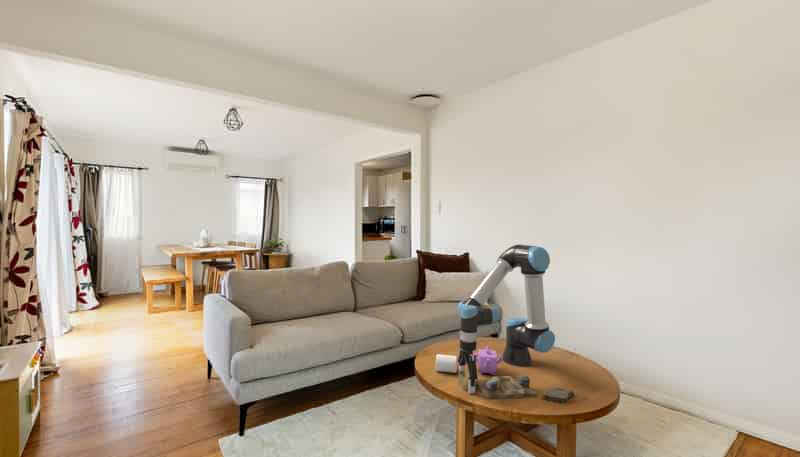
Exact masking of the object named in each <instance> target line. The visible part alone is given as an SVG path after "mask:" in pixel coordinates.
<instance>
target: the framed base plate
mask: <svg viewBox="0 0 800 457" xmlns="http://www.w3.org/2000/svg"><path fill="white" fill-rule="evenodd" d="M494 378H498V379H500V384H499V385H497V391H494V392H491V391H489V390H487V389H486V381H488V380H489V379H482V380H480V379H479V380H478V379H476V380H475V386H476V387H477V388H478V389H479V390H480V392H481V393H482V394H483V396H484V397H485V399H488V400H491V399H493V400H495V399H510V398H511V399H513V398H528V397H530V398H532V397H538V393H537V392H536V391H535V390H534V389H533V388H532V387H531V386H530V387H529V388H523V387H522V386H521V385H520V384H519V383H518V382H517V378H513V377H512V376H510V375H508V376H506V375H505V376H504V375H503V376H491V379H494Z"/></svg>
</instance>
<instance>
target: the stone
mask: <svg viewBox="0 0 800 457" xmlns="http://www.w3.org/2000/svg"><path fill="white" fill-rule="evenodd" d="M573 397H574V398H575V393H574V392H573V390H570V389H565V388H559V387H556V386H554V387H552V388H551V389H549V390H547V391H545V392H544V393H542V400H543V401H544V400H546V401H545V402H550V401H552V402H551V403H556V402H558V403H557V404H562V403H565V404H567V403H568V402H570V401H571V400H573V399H574V398H573ZM572 398H573V399H572ZM570 399H571V400H570ZM569 400H570V401H569ZM567 401H568V402H567Z"/></svg>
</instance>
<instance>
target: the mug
mask: <svg viewBox="0 0 800 457" xmlns="http://www.w3.org/2000/svg"><path fill="white" fill-rule="evenodd" d="M457 364H458V356H456V355H449V354H448V355H447V354H439V353H437V354H436V359H435V371H436V372H443V373H450V374H451V373H452V374H456V373H457V368H458V366H457Z"/></svg>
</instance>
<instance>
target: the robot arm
mask: <svg viewBox="0 0 800 457" xmlns="http://www.w3.org/2000/svg"><path fill="white" fill-rule="evenodd" d="M550 264H551V258H550V255H549V253H548V251H547V250H546V249H545V248H544V247H542V246H537V245H528V244H527V245H526V244H514V245H513V246H510V247H509V248H507V249H506V250H504V251H503V252H502V253H501V254H500V256H499V257H498V258H497V259H496V264H495V265H494V266H493V267H492V268H491V269H490V271H489V272H488V273H487V274H486V276H485V277H484V278H483V280H482V281H481V282H480V283H479V284H478V286H477V287H476V288H475V289H474V291H473V292H472V294H470V296H469V297H468V298H467V299H466V300H461V301H460V302H459V303H458V304H457V312H458V314H459V316H460V323H459V324H460V327H459V328H460V330H459V333H458V334H459V338H460V340H459V348H460V349H459V354H458V356H457V363H458V366H459V368H458V372H459V371H466V364H467V369H468V370H467V371H469V376H470V377H469V378H468V379H469V390H467V392H468V394H475V393H476V384H475V380H478V378H479V377H478V368H477V361H476V358H477V355H476V356H475V355H473V354H474V353H473V352H474V351H476V349H477V343H478V342H477V340H478V327H481V326H489V325H490V326H492V325H495V324H497V323H498V322H499V320H500V314H499V311H498V310H497V309H496V307H495V308H494V307H484V306H483V305H484V304H485V303H486V302H487V300H488V299H489V298H490V297H491V295H492V294H493V292H494V291H495V290H496V289H497V288H498V287H499V285H500V284H501V282H502V281H503V280H504V279H505V277H506V276H507V275H508V274H509V273H511V272H513V270H514V269H516V268H520V274H522V275H523V277H524V289H525V301H526V302H525V303H526V304H525V305H526V315H527V318H522V317H512V318H508V319H507V322H506V325H505V326H506V327H505V328H506V335H505V337H506V338H505V347H504V350H503V352H502V355H501V356H502V357H503V360H502V362H505V363H507V364H509V365H513V366H517V367H525V366H529V365H531V364H532V356H531V353H530V350H529V348H530V349H532V350H534V351H535V352H539V353H543V354H545V353H548V352H549V351H550V350H552V348H553V347H554V345H555V341H556V335H555V333H554V332H553V331H552V330H550V324H549V323H548V322H547V321H546V310H545V295H544V281H543V276H544V275H545V274H546V271H547V270H548V269H549V265H550Z"/></svg>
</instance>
